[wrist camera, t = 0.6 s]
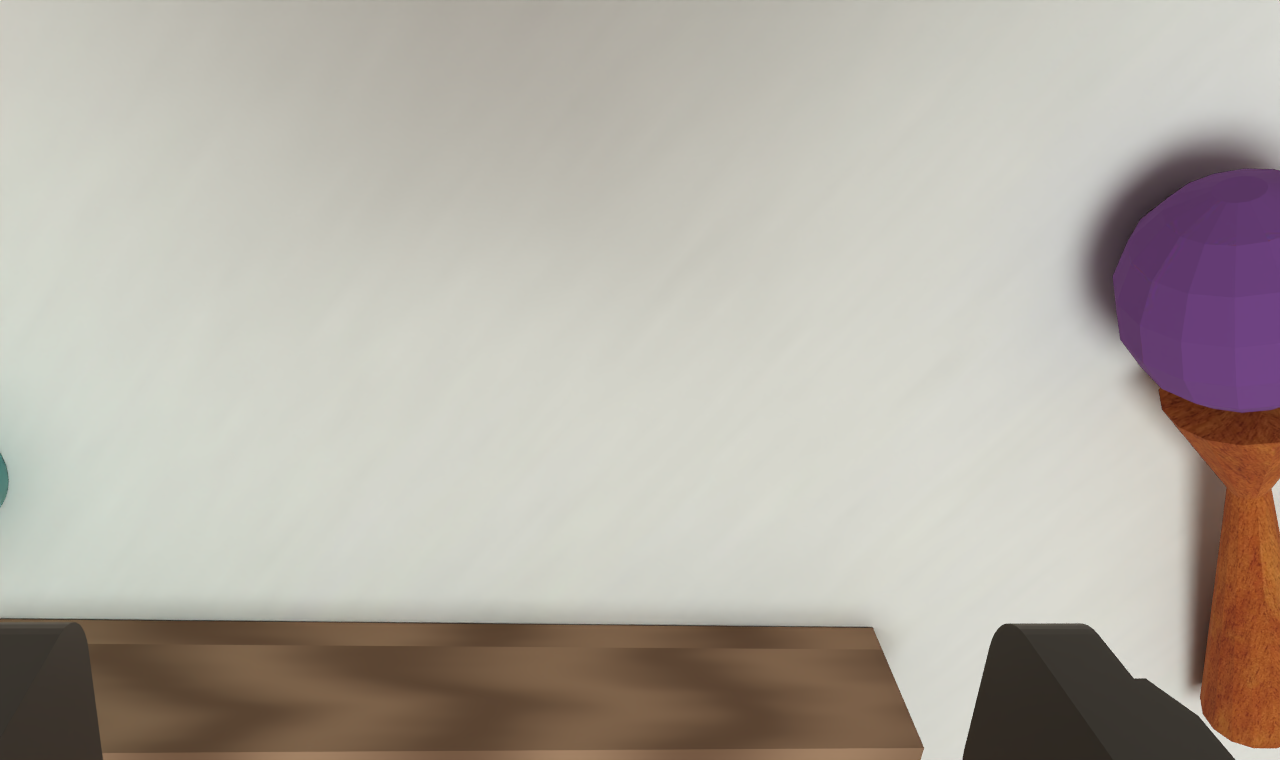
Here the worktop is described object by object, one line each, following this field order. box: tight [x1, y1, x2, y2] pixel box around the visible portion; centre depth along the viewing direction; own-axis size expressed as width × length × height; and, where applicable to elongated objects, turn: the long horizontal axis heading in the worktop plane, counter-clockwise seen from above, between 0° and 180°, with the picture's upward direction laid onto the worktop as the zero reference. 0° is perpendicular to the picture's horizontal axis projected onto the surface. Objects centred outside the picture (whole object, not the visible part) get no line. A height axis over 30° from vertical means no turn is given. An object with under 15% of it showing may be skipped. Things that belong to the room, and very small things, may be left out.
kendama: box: [1113, 169, 1280, 748], centre depth 32 cm, size 6×6×20 cm
